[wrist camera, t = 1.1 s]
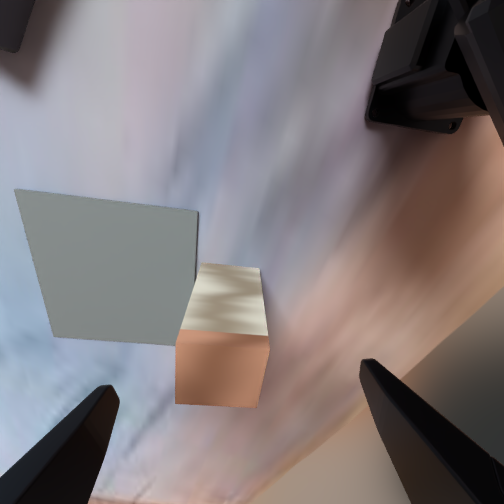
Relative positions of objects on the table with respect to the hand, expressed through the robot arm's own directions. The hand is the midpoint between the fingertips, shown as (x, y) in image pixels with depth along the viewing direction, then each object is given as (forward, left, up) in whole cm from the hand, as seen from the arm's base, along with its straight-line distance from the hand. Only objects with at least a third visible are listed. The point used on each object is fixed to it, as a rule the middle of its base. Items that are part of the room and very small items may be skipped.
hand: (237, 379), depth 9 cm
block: (+1, +5, -13) cm, 13 cm away
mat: (+10, +5, -13) cm, 17 cm away
